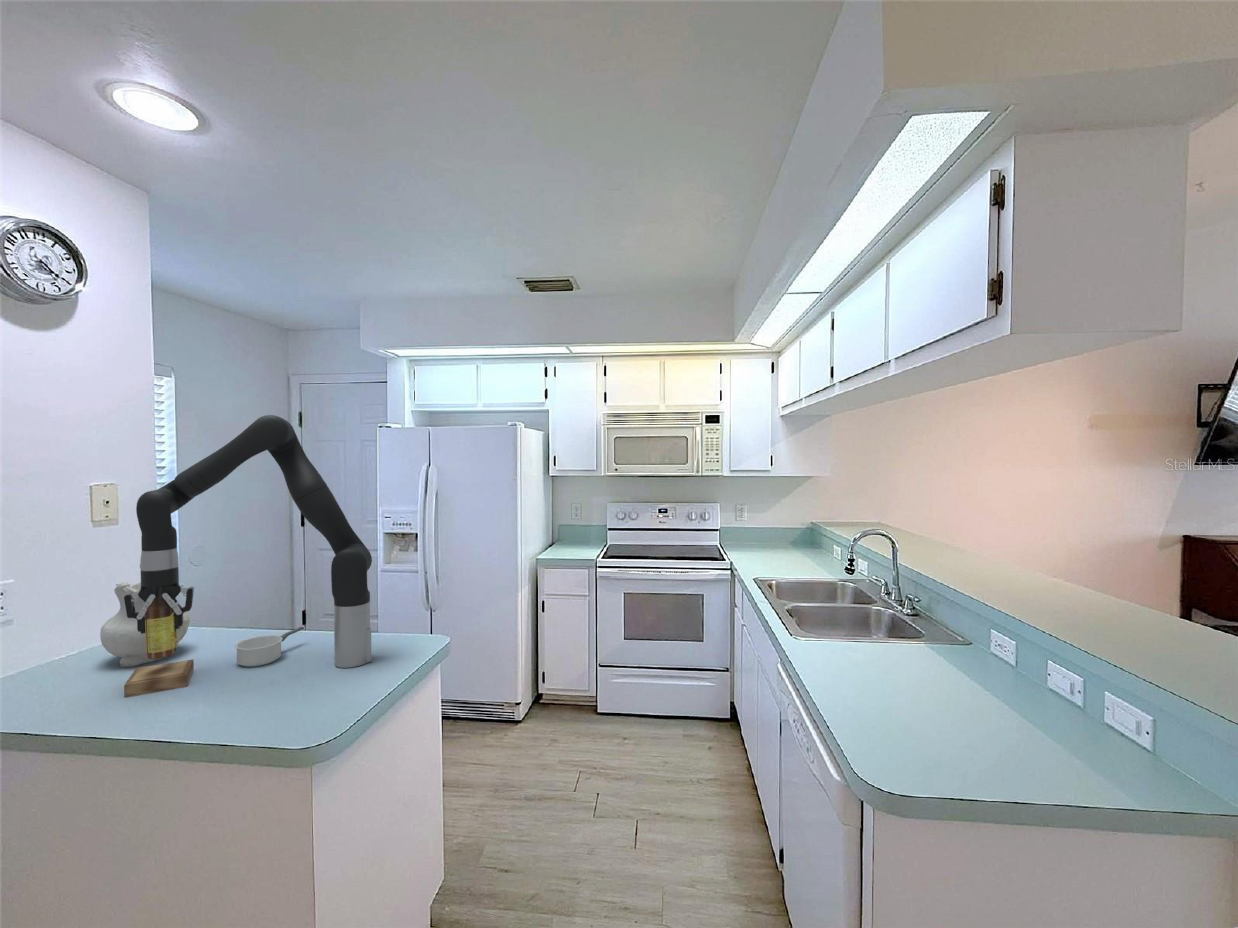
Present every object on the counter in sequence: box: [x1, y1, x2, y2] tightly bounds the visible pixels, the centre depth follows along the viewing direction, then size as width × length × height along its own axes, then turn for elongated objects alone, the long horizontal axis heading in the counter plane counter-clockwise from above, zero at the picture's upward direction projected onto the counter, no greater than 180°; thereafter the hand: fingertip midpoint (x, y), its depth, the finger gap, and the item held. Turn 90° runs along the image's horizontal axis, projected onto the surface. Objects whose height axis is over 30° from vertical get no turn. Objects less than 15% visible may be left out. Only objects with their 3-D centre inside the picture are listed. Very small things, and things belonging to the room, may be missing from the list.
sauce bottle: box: [145, 587, 178, 659], centre depth 140 cm, size 7×6×20 cm
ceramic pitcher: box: [99, 581, 190, 668], centre depth 157 cm, size 22×20×25 cm
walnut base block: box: [123, 658, 194, 698], centre depth 140 cm, size 12×12×3 cm
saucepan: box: [234, 626, 305, 668], centre depth 159 cm, size 12×20×6 cm, turn 161°
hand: (160, 630), depth 140 cm, fingers closed on sauce bottle, 6 cm apart
